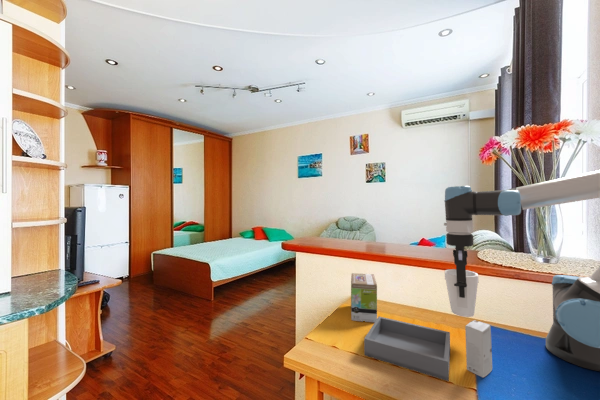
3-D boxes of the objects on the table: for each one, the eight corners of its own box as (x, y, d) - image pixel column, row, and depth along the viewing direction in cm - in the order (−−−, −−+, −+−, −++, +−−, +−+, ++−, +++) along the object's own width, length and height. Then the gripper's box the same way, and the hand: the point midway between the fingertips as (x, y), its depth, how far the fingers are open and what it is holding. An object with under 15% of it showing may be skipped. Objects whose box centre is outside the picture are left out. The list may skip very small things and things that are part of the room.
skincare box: (484, 378, 66) (483, 332, 66) (465, 369, 70) (464, 325, 70) (493, 369, 70) (492, 325, 70) (474, 361, 73) (473, 319, 73)
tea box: (378, 323, 97) (377, 284, 97) (351, 321, 99) (350, 283, 99) (374, 306, 111) (374, 273, 111) (351, 305, 113) (350, 272, 113)
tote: (450, 348, 80) (449, 332, 80) (448, 381, 65) (448, 361, 65) (379, 330, 91) (378, 316, 91) (364, 355, 77) (364, 338, 77)
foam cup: (446, 304, 90) (445, 268, 90) (478, 309, 85) (476, 270, 85) (445, 315, 82) (444, 274, 82) (481, 321, 77) (479, 278, 77)
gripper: (447, 229, 95) (449, 289, 95) (444, 236, 76) (447, 311, 76) (471, 229, 91) (474, 292, 91) (475, 238, 72) (478, 317, 72)
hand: (462, 301), depth 83 cm, fingers closed on foam cup, 9 cm apart
